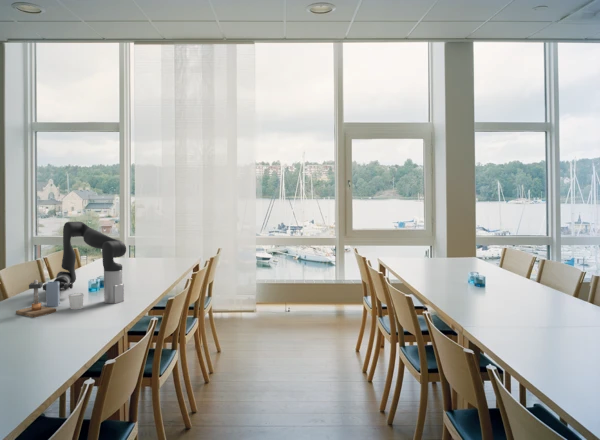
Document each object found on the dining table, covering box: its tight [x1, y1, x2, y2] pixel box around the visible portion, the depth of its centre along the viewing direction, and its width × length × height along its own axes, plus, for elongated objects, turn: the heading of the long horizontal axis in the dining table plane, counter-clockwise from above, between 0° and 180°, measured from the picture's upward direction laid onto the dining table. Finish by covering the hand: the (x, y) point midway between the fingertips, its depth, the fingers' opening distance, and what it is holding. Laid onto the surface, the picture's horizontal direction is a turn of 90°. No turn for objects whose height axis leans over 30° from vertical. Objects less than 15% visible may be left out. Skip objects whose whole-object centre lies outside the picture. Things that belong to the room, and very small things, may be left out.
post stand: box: [15, 279, 58, 318], centre depth 207 cm, size 14×11×16 cm
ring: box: [28, 281, 44, 290], centre depth 207 cm, size 5×5×2 cm
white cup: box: [68, 292, 85, 310], centre depth 217 cm, size 7×7×7 cm
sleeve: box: [45, 280, 61, 308], centre depth 222 cm, size 5×5×12 cm
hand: (55, 288), depth 229 cm, fingers open, 8 cm apart
